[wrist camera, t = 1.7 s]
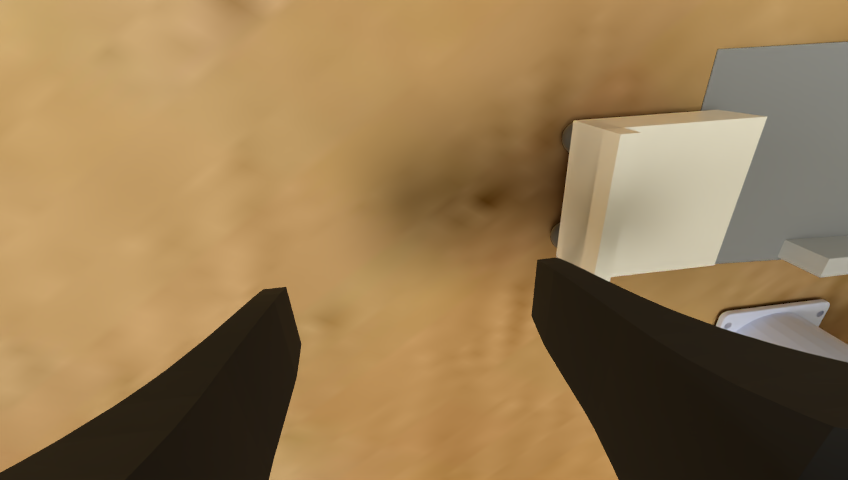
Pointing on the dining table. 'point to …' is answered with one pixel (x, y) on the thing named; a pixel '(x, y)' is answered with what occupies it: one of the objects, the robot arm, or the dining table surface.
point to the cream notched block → (652, 189)
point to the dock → (789, 154)
